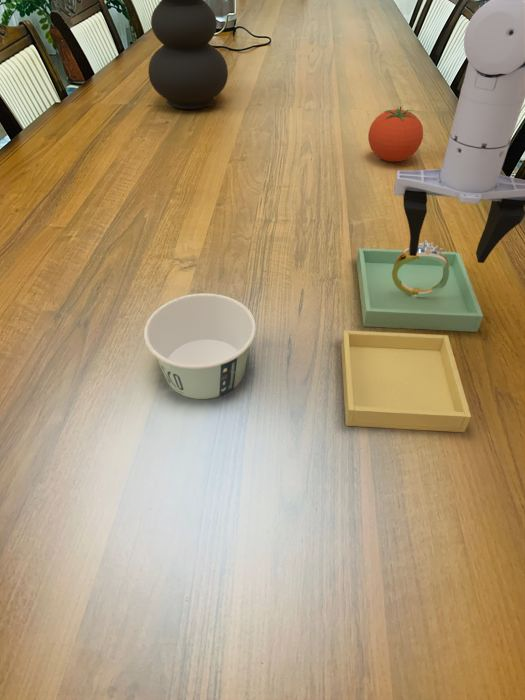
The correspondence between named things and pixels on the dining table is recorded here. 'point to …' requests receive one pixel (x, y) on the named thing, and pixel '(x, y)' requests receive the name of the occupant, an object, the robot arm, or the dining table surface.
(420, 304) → the green tray
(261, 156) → the dining table surface
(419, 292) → the ring
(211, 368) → the food container
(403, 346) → the yellow tray
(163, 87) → the vase
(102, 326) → the dining table surface
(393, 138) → the tomato
